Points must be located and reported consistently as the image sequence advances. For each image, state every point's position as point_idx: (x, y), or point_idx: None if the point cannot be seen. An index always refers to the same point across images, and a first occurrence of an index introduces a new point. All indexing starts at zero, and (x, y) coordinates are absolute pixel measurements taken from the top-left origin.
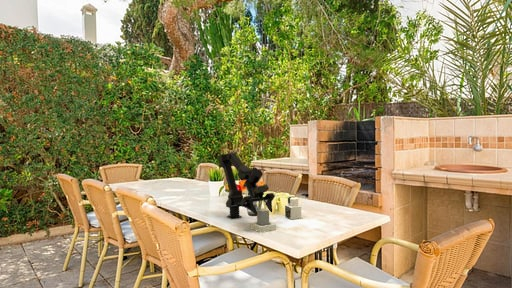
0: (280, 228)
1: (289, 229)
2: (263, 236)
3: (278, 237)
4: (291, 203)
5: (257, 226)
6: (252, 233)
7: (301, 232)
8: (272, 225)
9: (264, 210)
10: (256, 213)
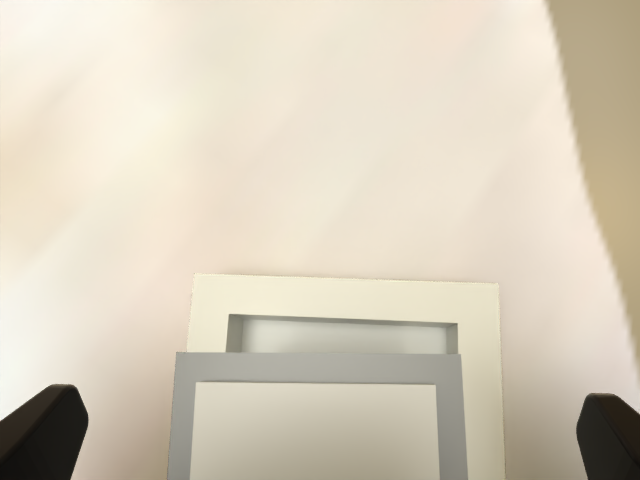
0: (123, 300)
1: (68, 195)
2: (522, 142)
3: (385, 22)
4: None
5: (498, 378)
6: (594, 336)
7: (53, 30)
8: (254, 277)
9: (333, 385)
10: (626, 417)
